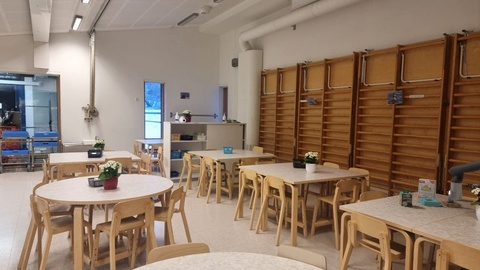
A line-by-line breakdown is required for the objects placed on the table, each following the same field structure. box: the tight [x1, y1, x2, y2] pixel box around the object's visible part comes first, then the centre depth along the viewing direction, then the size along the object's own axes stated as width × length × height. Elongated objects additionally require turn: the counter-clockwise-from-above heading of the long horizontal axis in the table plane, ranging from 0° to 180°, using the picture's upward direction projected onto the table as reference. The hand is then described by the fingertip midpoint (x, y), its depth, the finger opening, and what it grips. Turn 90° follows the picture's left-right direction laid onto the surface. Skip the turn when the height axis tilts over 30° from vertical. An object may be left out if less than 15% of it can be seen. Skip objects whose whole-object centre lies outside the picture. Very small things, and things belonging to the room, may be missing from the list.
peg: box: [447, 189, 455, 204], centre depth 296 cm, size 4×4×14 cm
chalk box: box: [399, 188, 413, 208], centre depth 294 cm, size 9×9×15 cm
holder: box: [440, 200, 462, 209], centre depth 296 cm, size 12×12×3 cm
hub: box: [418, 198, 442, 207], centre depth 300 cm, size 14×14×4 cm
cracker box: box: [417, 178, 437, 200], centre depth 316 cm, size 14×6×21 cm, turn 43°
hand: (466, 185), depth 287 cm, fingers open, 8 cm apart
